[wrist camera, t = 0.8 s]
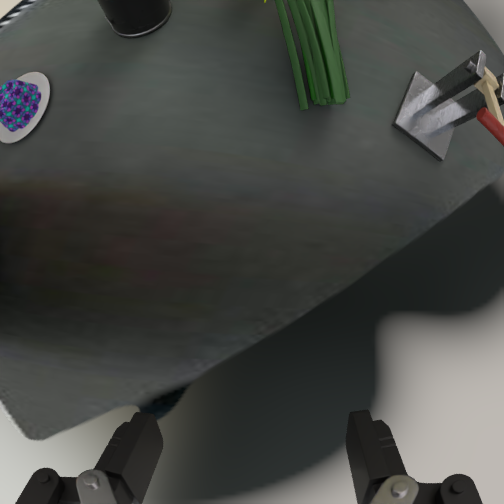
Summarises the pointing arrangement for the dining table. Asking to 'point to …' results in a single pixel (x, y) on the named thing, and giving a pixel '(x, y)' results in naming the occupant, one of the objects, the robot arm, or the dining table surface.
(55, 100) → the dining table surface
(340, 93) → the daffodil flowers
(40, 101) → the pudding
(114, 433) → the robot arm
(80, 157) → the dining table surface
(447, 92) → the bracket
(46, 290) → the dining table surface
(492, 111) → the lever
